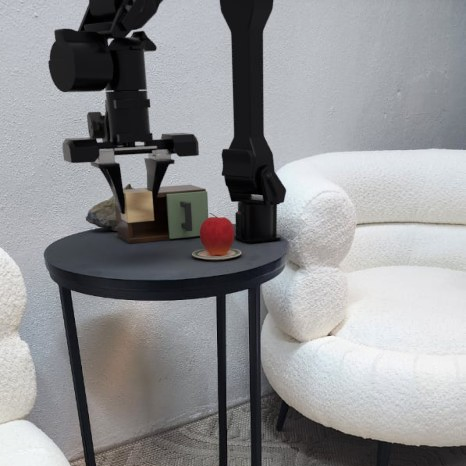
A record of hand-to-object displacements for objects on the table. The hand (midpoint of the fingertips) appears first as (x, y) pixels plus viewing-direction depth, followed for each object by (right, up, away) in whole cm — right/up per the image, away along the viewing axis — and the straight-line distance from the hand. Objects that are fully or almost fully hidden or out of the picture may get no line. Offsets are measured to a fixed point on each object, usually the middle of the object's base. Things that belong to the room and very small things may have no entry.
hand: (137, 212), depth 102 cm
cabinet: (+1, +6, +26) cm, 27 cm away
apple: (+12, -4, +9) cm, 15 cm away
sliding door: (+7, +4, +22) cm, 23 cm away
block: (0, -1, 0) cm, 1 cm away
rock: (-9, +11, +33) cm, 36 cm away
